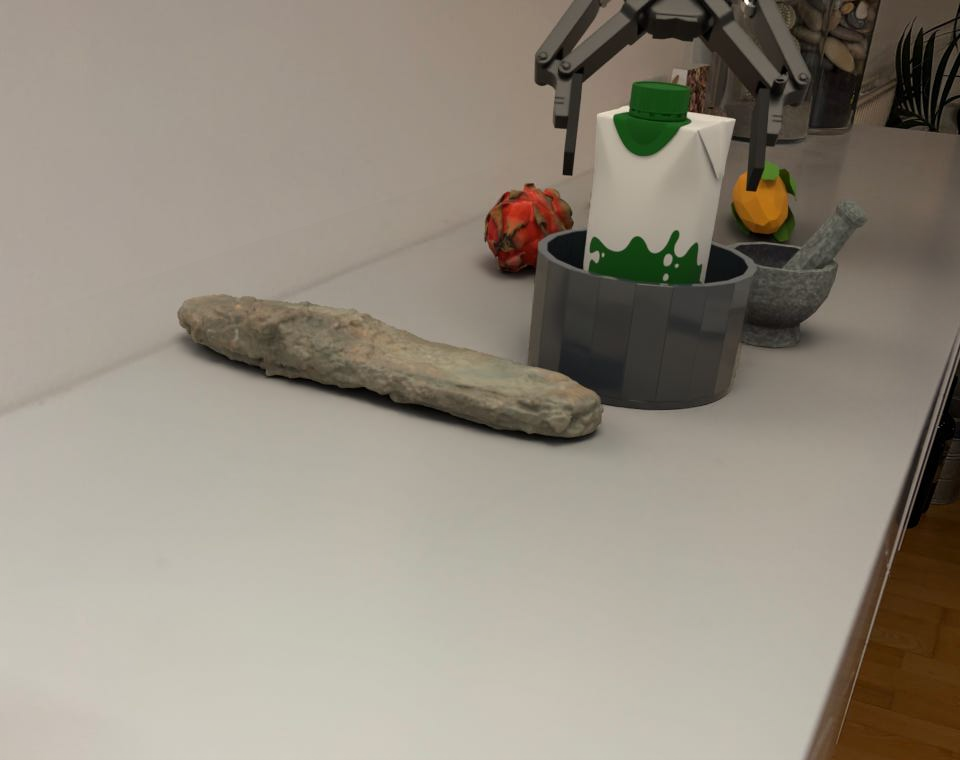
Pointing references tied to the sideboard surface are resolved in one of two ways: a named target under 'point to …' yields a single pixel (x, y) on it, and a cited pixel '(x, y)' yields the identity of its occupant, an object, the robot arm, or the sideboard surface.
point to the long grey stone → (390, 363)
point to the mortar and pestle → (795, 278)
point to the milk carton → (656, 187)
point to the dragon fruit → (524, 225)
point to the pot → (639, 327)
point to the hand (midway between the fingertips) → (661, 172)
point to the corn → (765, 203)
